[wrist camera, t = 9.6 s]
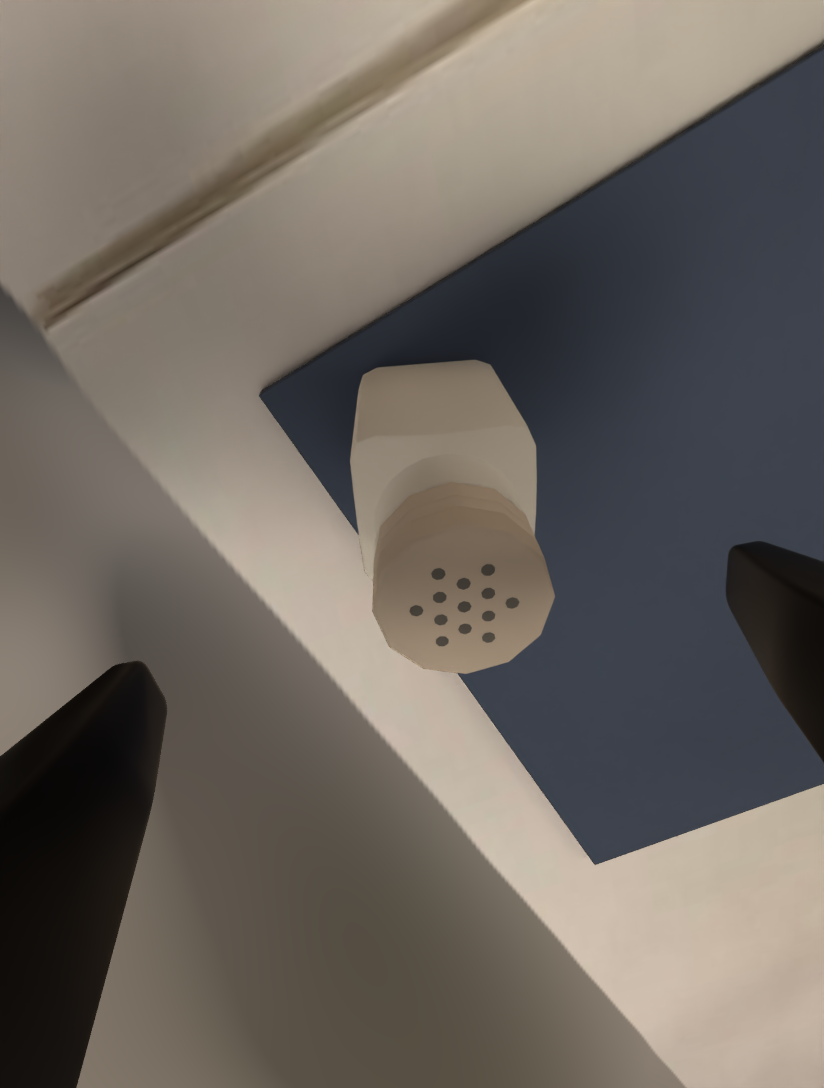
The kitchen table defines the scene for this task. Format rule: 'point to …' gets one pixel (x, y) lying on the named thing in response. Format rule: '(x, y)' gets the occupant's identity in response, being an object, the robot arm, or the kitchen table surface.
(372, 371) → the salt shaker
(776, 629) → the robot arm
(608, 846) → the mat
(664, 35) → the kitchen table surface
